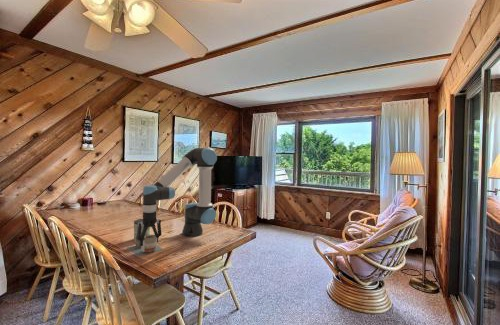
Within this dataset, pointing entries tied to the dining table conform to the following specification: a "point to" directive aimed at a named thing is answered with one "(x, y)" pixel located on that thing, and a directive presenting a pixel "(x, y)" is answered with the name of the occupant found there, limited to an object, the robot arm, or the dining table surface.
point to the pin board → (139, 253)
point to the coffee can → (141, 228)
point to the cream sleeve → (149, 243)
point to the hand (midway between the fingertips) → (149, 249)
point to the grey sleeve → (138, 241)
